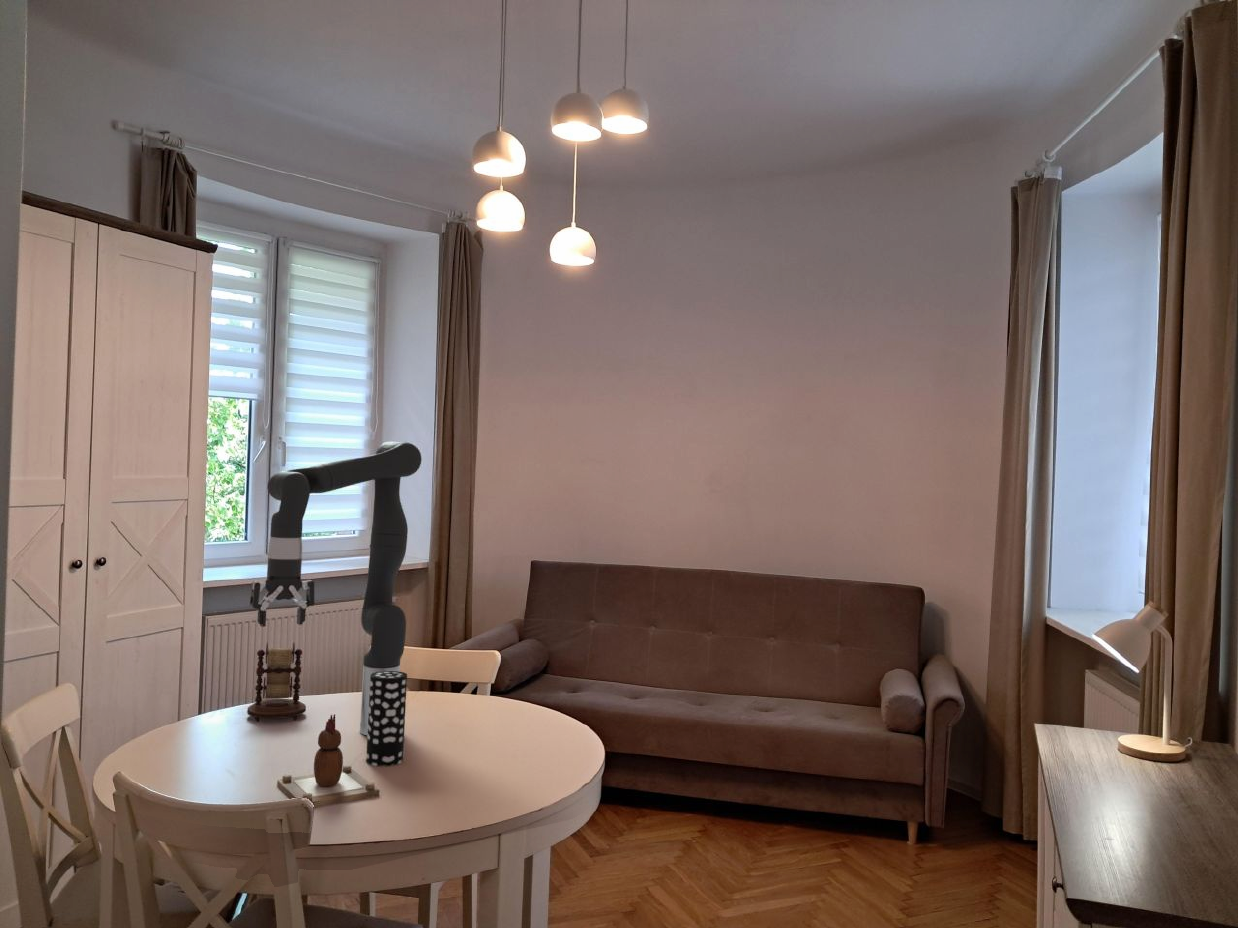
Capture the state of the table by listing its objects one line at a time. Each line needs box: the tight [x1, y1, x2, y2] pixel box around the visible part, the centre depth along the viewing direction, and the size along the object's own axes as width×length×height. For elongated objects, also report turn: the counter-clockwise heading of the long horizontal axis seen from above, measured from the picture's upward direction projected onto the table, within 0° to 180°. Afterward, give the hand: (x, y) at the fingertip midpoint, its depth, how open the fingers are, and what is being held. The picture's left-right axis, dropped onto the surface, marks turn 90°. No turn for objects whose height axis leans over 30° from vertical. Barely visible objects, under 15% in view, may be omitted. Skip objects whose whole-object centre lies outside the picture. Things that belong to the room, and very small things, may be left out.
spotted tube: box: [365, 671, 408, 767], centre depth 211 cm, size 8×8×20 cm
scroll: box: [246, 641, 307, 723], centre depth 244 cm, size 15×15×20 cm
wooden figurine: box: [313, 714, 344, 787], centre depth 190 cm, size 7×6×15 cm
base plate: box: [276, 764, 381, 808], centre depth 189 cm, size 16×16×2 cm
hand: (281, 625), depth 213 cm, fingers open, 8 cm apart
